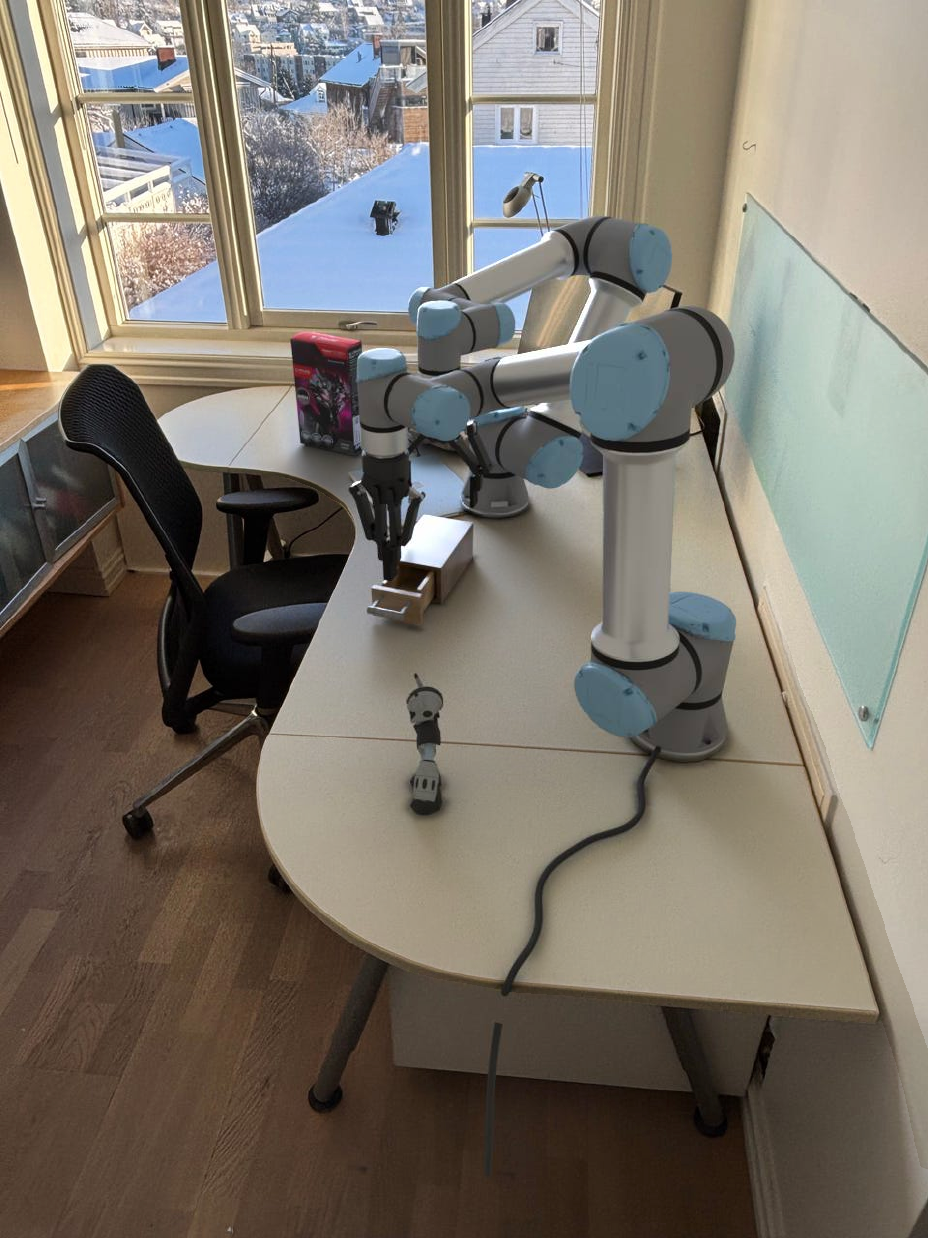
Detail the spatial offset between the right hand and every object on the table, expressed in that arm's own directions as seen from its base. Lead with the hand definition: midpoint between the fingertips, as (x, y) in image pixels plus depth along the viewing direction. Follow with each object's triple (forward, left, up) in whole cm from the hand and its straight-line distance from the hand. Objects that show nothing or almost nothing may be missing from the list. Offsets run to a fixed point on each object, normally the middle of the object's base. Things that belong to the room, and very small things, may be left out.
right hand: (390, 576), depth 159 cm
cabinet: (+20, -1, -11) cm, 23 cm away
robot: (-38, -18, -11) cm, 43 cm away
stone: (+82, +17, -11) cm, 85 cm away
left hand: (+25, -2, +3) cm, 25 cm away
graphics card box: (+73, +41, -11) cm, 85 cm away
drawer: (+8, -1, -10) cm, 13 cm away
